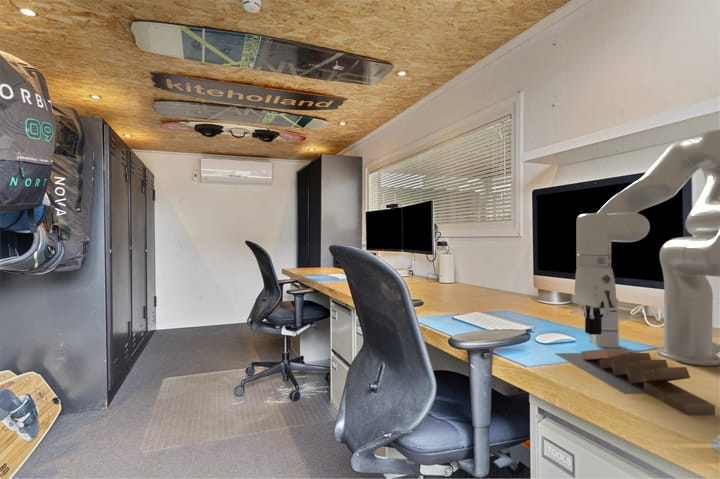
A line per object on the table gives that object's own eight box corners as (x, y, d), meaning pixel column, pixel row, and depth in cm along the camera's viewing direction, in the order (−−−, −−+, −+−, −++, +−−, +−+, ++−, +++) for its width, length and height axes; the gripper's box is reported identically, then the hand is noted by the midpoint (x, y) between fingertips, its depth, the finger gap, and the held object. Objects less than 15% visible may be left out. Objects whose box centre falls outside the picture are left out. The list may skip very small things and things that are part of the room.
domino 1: (602, 359, 96) (629, 357, 87) (582, 359, 96) (607, 357, 87) (600, 351, 97) (626, 348, 88) (581, 351, 97) (605, 348, 87)
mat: (598, 354, 102) (598, 352, 102) (683, 394, 76) (683, 392, 76) (554, 354, 101) (554, 353, 101) (624, 395, 75) (624, 393, 75)
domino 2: (598, 360, 90) (626, 353, 81) (619, 360, 90) (648, 352, 81) (601, 369, 89) (629, 362, 80) (622, 368, 89) (652, 362, 80)
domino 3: (611, 366, 86) (641, 360, 77) (632, 366, 86) (665, 359, 77) (614, 376, 85) (645, 370, 76) (635, 375, 85) (669, 370, 76)
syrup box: (619, 349, 106) (619, 297, 106) (596, 347, 108) (596, 297, 107) (610, 343, 112) (610, 294, 112) (588, 342, 113) (588, 294, 113)
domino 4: (626, 373, 81) (660, 367, 72) (649, 373, 81) (686, 367, 72) (629, 383, 80) (664, 378, 71) (652, 383, 80) (690, 378, 71)
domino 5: (643, 381, 76) (687, 405, 66) (667, 381, 76) (715, 405, 66) (643, 391, 76) (687, 417, 66) (667, 390, 76) (714, 416, 66)
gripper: (629, 263, 88) (629, 341, 89) (589, 260, 103) (589, 326, 104) (598, 264, 88) (597, 342, 88) (562, 260, 103) (562, 326, 103)
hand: (593, 333), depth 96 cm, fingers closed
